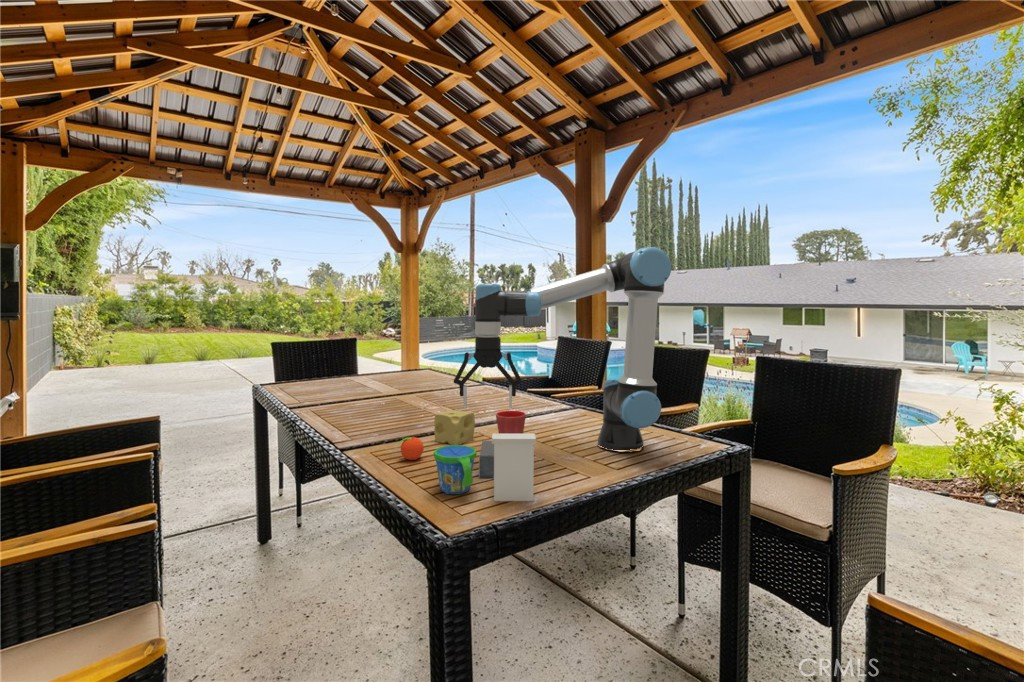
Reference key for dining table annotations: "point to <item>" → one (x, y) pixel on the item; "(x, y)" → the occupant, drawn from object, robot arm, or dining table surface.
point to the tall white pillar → (513, 466)
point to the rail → (486, 460)
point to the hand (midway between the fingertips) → (487, 407)
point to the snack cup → (455, 468)
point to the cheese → (454, 427)
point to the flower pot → (510, 422)
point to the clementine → (411, 448)
